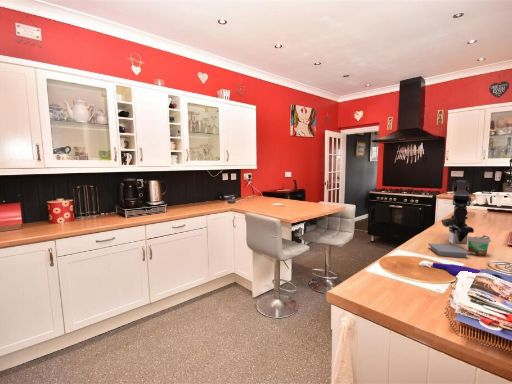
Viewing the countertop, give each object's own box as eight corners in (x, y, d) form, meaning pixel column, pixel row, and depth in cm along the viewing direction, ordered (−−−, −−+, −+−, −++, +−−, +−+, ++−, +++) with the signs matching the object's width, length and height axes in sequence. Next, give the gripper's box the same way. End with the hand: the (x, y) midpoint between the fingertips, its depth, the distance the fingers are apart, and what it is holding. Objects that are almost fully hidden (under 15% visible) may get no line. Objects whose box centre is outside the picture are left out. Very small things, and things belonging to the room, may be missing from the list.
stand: (428, 248, 150) (428, 243, 149) (455, 250, 146) (455, 245, 146) (438, 256, 136) (439, 251, 136) (469, 258, 133) (469, 253, 133)
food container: (478, 258, 134) (480, 239, 133) (466, 254, 140) (467, 236, 138) (495, 255, 137) (497, 237, 136) (482, 252, 143) (484, 234, 142)
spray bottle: (489, 271, 111) (424, 256, 129) (485, 278, 104) (417, 262, 122) (488, 277, 111) (424, 262, 130) (484, 285, 104) (417, 268, 123)
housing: (448, 240, 153) (449, 229, 153) (462, 241, 152) (463, 230, 151) (452, 243, 148) (453, 231, 148) (466, 244, 147) (467, 232, 146)
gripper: (436, 211, 159) (435, 235, 161) (451, 217, 141) (449, 244, 143) (457, 211, 157) (455, 236, 158) (475, 218, 139) (473, 245, 140)
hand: (457, 240), depth 150 cm, fingers closed on housing, 5 cm apart
